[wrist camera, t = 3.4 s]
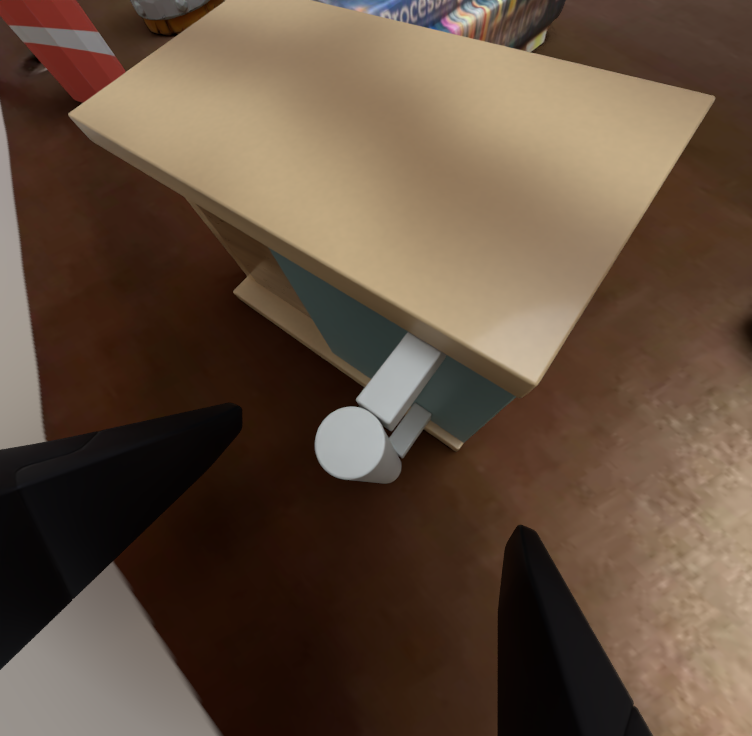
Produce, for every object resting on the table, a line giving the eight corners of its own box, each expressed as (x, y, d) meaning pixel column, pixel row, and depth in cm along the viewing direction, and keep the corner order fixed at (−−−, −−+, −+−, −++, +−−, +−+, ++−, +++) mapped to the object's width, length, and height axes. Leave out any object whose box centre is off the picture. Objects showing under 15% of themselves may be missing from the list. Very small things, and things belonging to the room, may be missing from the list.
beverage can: (141, 74, 35) (15, -115, 24) (114, 110, 33) (-37, -78, 22) (98, 75, 36) (-42, -105, 25) (69, 110, 34) (-96, -70, 23)
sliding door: (417, 513, 15) (423, 554, 6) (286, 407, 18) (152, 323, 9) (472, 430, 16) (546, 358, 7) (340, 342, 19) (271, 208, 10)
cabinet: (456, 452, 17) (537, 387, 6) (239, 299, 22) (65, 113, 11) (540, 324, 19) (718, 95, 8) (323, 212, 24) (247, -16, 13)
